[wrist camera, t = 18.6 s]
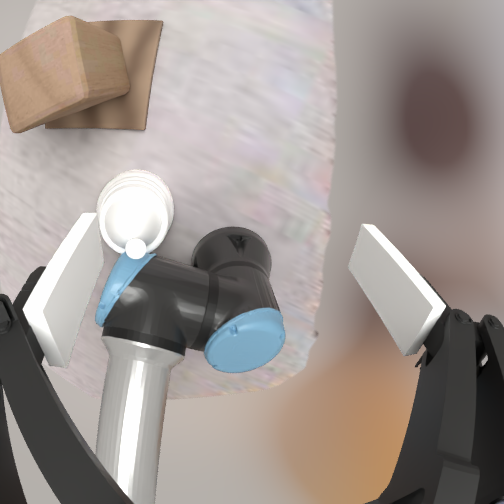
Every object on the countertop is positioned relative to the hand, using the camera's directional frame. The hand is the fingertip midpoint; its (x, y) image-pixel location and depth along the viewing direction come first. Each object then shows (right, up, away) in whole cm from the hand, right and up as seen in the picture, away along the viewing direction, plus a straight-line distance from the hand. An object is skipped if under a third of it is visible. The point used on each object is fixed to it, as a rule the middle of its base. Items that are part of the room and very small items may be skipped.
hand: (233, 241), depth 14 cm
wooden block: (-23, +27, +22) cm, 41 cm away
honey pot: (-19, +8, +36) cm, 41 cm away
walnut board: (-23, +28, +23) cm, 42 cm away
